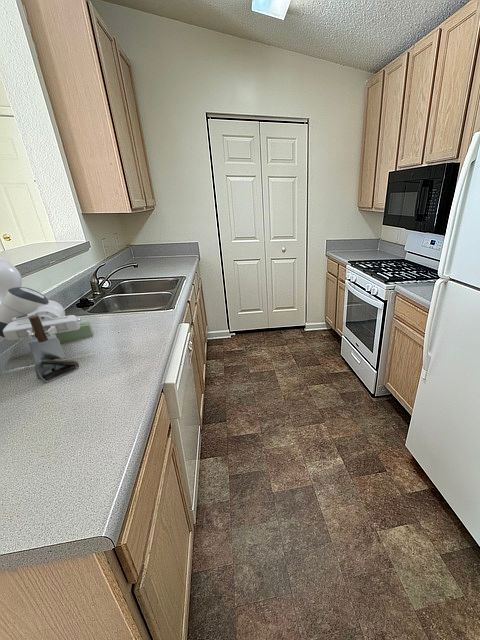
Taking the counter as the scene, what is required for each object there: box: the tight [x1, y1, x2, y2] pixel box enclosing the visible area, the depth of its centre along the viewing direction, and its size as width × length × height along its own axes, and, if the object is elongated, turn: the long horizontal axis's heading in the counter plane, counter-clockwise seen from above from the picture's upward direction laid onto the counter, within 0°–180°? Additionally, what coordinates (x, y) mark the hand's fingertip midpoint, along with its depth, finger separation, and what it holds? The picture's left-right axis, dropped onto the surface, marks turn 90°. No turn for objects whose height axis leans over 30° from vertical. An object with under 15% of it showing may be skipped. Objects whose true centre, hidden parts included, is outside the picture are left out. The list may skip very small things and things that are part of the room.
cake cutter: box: [27, 315, 66, 364], centre depth 105 cm, size 8×3×15 cm, turn 118°
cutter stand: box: [54, 321, 94, 343], centre depth 135 cm, size 12×5×6 cm, turn 118°
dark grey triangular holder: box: [34, 359, 80, 383], centre depth 109 cm, size 10×7×12 cm
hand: (40, 335), depth 103 cm, fingers closed on cake cutter, 2 cm apart
